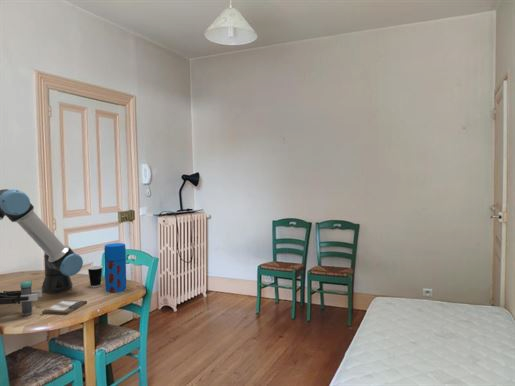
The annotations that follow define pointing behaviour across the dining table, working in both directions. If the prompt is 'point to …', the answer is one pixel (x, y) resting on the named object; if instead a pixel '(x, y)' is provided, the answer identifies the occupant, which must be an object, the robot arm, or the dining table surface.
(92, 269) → the dixie cup
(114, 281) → the thermos
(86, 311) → the dining table surface
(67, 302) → the brown picture frame
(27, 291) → the marker
